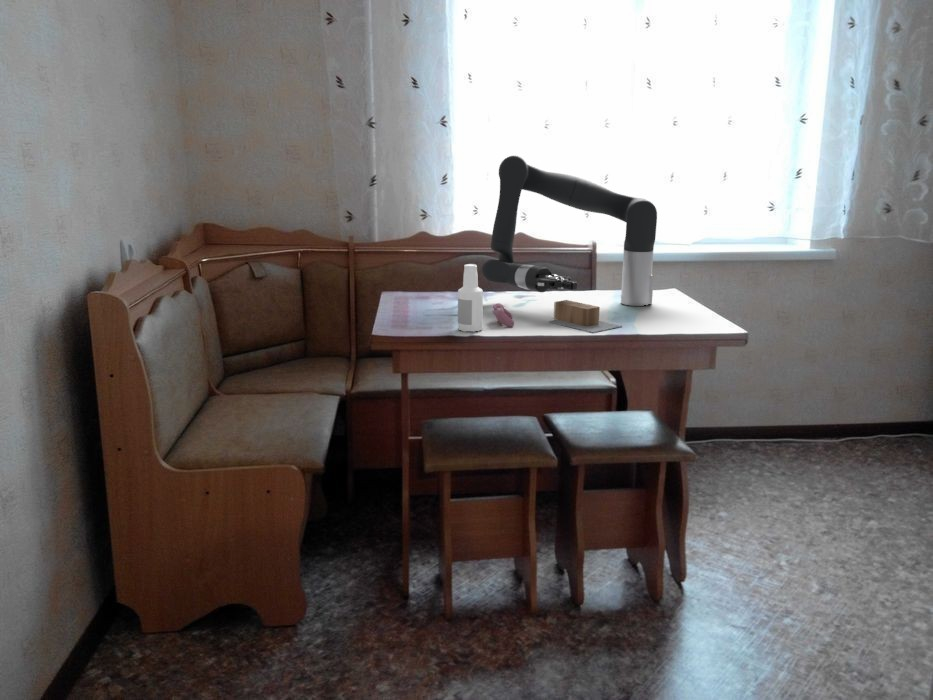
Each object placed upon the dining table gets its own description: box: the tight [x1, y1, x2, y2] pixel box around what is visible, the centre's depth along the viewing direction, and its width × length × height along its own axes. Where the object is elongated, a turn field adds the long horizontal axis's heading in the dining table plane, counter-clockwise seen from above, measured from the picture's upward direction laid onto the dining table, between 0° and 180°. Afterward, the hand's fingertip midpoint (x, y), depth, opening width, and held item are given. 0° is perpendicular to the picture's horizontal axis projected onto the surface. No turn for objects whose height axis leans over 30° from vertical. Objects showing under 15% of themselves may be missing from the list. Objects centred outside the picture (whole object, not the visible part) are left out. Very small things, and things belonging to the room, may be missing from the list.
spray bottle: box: [457, 263, 484, 332], centre depth 217 cm, size 7×7×18 cm
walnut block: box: [553, 299, 601, 327], centre depth 228 cm, size 5×5×13 cm
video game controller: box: [492, 302, 515, 328], centre depth 226 cm, size 10×5×7 cm, turn 179°
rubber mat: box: [548, 319, 623, 333], centre depth 226 cm, size 17×12×1 cm
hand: (575, 286), depth 226 cm, fingers closed
